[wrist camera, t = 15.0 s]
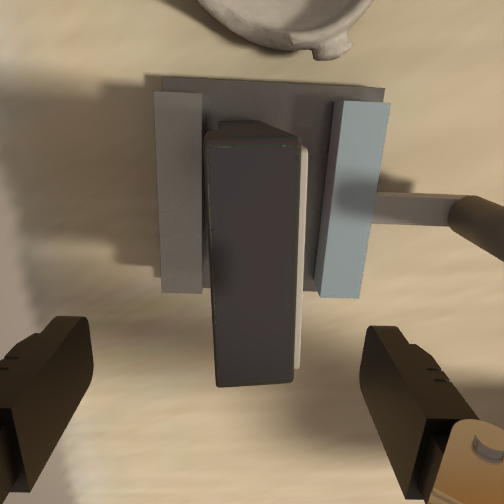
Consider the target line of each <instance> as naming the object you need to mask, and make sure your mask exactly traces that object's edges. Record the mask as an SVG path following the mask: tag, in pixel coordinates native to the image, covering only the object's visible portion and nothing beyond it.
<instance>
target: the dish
mask: <svg viewBox="0 0 504 504" xmlns="http://www.w3.org/2000/svg"><path fill="white" fill-rule="evenodd" d="M196 1H197V2H198V3H199V4H200V5H201V6H202V7H203V8H204V9H205V10H206V11H207V12H208V13H209V14H210V15H211V16H213V17H214V18H215V19H216V20H217V21H219V22H220V23H221V24H222V25H224V26H225V27H226V28H228V29H229V30H231V31H232V32H234V33H235V34H237V35H239V36H241V37H243V38H244V39H246V40H248V41H250V42H253V43H255V44H258V45H261V46H264V47H267V48H272V49H277V50H286V51H293V50H307V49H309V50H311V51H312V55H313V59H314V60H317V61H327V60H334V59H336V58H339V57H340V56H341V55H343V54H344V53H346V52H347V51H348V50H349V49H351V47H352V42H351V39H350V38H349V36H348V31H349V29H350V28H351V27H352V26H353V25H354V23H355V22H356V21H357V20H358V19H359V18H360V17H361V16H362V15H363V14H364V13H365V11H366V10H367V9H368V8H369V7H370V5H371V4H372V3H373V1H374V0H196Z"/></svg>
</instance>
